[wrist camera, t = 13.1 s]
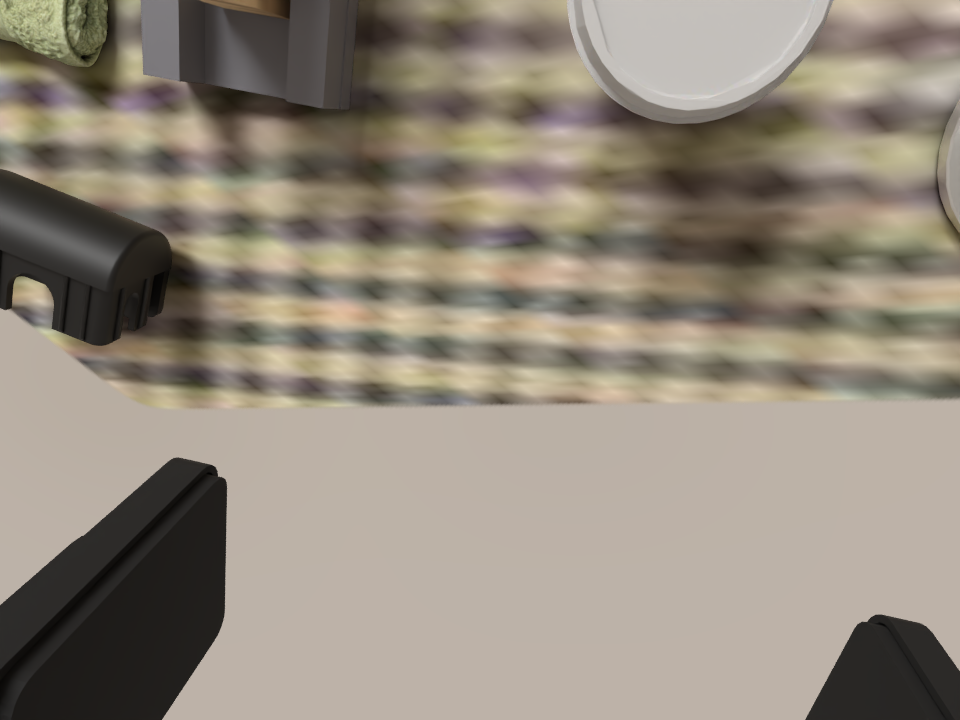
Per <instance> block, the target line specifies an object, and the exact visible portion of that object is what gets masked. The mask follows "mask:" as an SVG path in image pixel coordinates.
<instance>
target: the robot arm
mask: <svg viewBox="0 0 960 720" xmlns="http://www.w3.org/2000/svg"><path fill="white" fill-rule="evenodd" d="M937 176H938V185H939V193H940V197H941V200H942V203H943V206H944V208H945V211H946V214H947V216H948V217H949V219H950V220H951V222H952V223H953V225H954V226H955V228H956V229H957V231H958V232H959V233H960V99H959V101H958V103H957V105H956V107H955V109H954V111H953V113H952V115H951V117H950V119H949V121H948V123H947V125H946V128H945V132H944V135H943V139H942V142H941V146H940V149H939V159H938V170H937ZM226 508H227V484H226V480H225V479H224V478H222V477H218V473H217V470H216V467H214V466H213V465H209V464H205V463H200V462H196V461H192V460H187V459H183V458H173V459H171V460H170V461H169V462H167V463H166V464H165V465H164V466H163V467H161V469H159V470H158V471H157V472H156V473H155V474H154V475H152V476H151V477H150V478H149V479H148V480H147V481H146V482H144V483H143V484H142V485H141V486H140V487H139V488H138V489H137V490H135V491H134V492H133V493H132V494H131V495H130V496H128V497H127V498H126V499H125V500H124V501H123V502H122V503H121V504H119V505H118V506H117V507H116V508H115V509H114V510H113V511H111V512H110V513H109V514H108V515H107V516H106V517H105V518H103V519H102V520H101V521H100V522H99V523H98V524H97V525H95V526H94V527H93V528H92V529H91V530H90V531H89V532H87V533H86V534H85V535H84V536H81V537H80V538H78V539H77V540H76V541H74V542H73V543H71V544H70V545H69V546H68V547H67V548H66V549H64V550H63V551H62V552H61V553H60V554H59V555H57V556H56V557H55V558H54V559H53V560H52V561H50V562H49V563H48V564H47V565H46V566H45V567H44V568H42V569H41V570H40V571H39V572H38V573H37V574H36V575H34V576H33V577H32V578H31V579H30V580H29V581H28V582H26V583H25V584H24V585H23V586H22V587H21V588H20V589H18V590H17V591H16V592H15V593H14V594H13V595H11V596H10V597H9V598H8V599H7V600H6V601H5V602H3V603H2V604H1V605H0V720H162V719H163V717H164V716H165V714H166V713H167V711H168V710H169V708H170V707H171V705H172V704H173V702H174V701H175V699H176V698H177V696H178V695H179V693H180V692H181V690H182V689H183V687H184V686H185V684H186V683H187V681H188V680H189V678H190V676H191V675H192V673H193V672H194V670H195V669H196V668H197V666H198V664H199V663H200V661H201V660H202V658H203V657H204V655H205V654H206V652H207V651H208V649H209V648H210V646H211V645H212V643H213V642H214V640H215V638H216V637H217V635H218V633H219V631H220V628H221V626H222V622H223V618H224V613H225V563H226ZM806 720H960V671H959V670H958V668H957V667H956V665H955V664H954V663H953V661H952V660H951V658H950V657H949V656H948V654H947V653H946V651H945V650H944V649H943V647H942V646H941V644H940V643H939V642H938V640H937V639H936V637H935V636H934V634H933V633H932V632H931V631H930V630H929V629H928V628H927V627H926V626H924V625H922V624H920V623H917V622H912V621H908V620H903V619H899V618H894V617H890V616H885V615H875V616H873V617H871V618H870V619H869V620H868V622H861V623H859V624H858V625H857V626H856V627H855V629H854V631H853V632H852V634H851V636H850V638H849V640H848V642H847V644H846V645H845V647H844V649H843V651H842V653H841V655H840V656H839V658H838V660H837V662H836V664H835V666H834V668H833V669H832V671H831V673H830V675H829V677H828V679H827V681H826V682H825V684H824V686H823V688H822V690H821V692H820V693H819V695H818V697H817V699H816V701H815V703H814V705H813V706H812V708H811V710H810V712H809V714H808V716H807V718H806Z"/></svg>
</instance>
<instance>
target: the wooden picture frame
mask: <svg viewBox="0 0 960 720" xmlns="http://www.w3.org/2000/svg"><path fill="white" fill-rule="evenodd" d="M199 1H202V2H206V3H209V4H212V5H215V6H218V7H222V8H226V9H232V10H237V11H243V12H248V13H254V14H259V15H265V16H270V17H276V18H281V19H287V20H290V2H291V0H199Z"/></svg>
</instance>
